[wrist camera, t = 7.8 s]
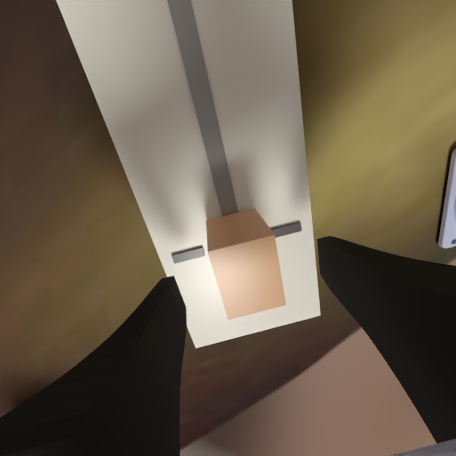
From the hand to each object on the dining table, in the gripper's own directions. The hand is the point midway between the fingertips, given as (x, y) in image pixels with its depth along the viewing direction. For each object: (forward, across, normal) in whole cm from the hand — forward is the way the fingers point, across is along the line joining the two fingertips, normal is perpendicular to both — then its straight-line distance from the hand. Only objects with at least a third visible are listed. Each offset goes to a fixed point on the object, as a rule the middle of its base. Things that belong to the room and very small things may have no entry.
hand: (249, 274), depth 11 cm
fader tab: (+3, 0, 0) cm, 3 cm away
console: (+6, 0, -5) cm, 8 cm away
